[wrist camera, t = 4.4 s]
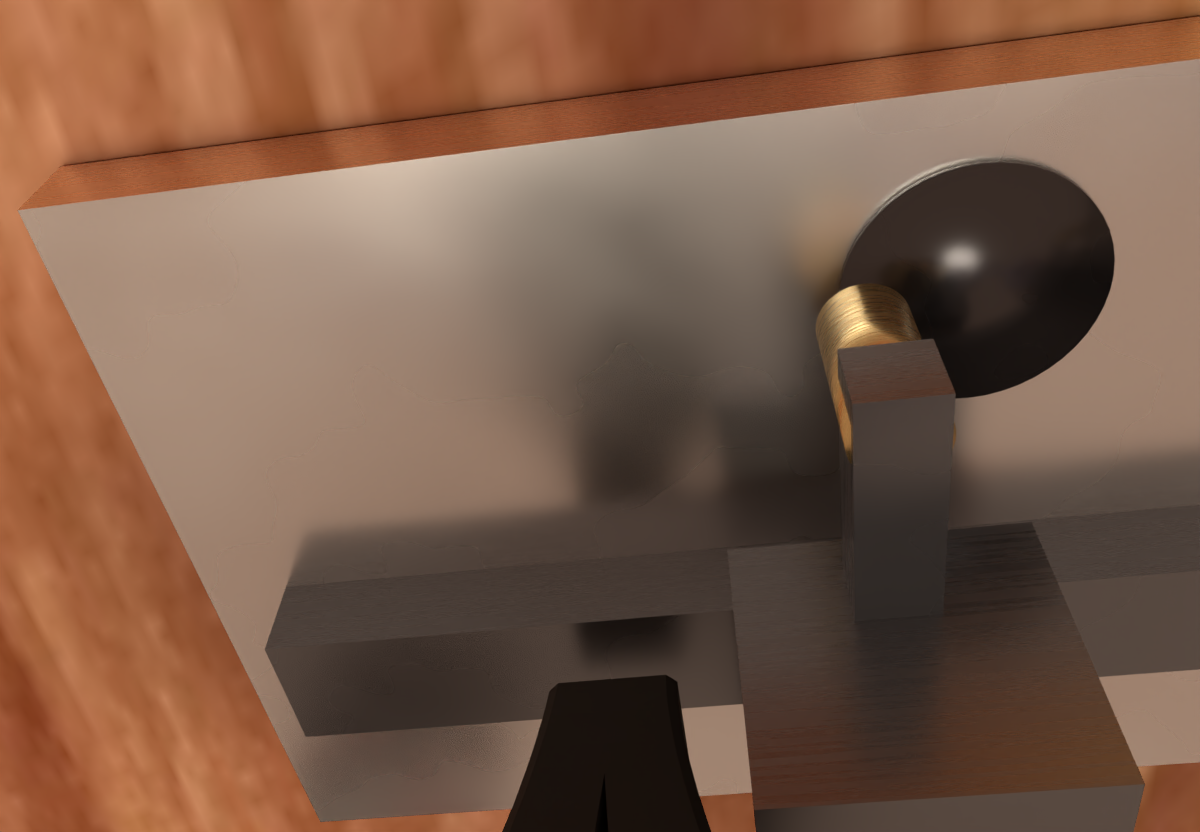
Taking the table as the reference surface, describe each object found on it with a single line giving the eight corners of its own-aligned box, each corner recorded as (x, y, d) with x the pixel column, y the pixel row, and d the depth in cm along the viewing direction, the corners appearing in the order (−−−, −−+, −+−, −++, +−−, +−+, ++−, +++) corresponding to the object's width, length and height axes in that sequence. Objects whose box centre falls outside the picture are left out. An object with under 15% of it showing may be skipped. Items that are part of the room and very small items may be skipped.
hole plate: (2286, -127, 9) (2457, -99, 9) (1743, 662, 15) (1810, 727, 14) (60, 167, 11) (13, 215, 11) (334, 764, 17) (318, 827, 16)
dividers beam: (2163, 102, 10) (2676, 275, 7) (1795, 621, 13) (2050, 848, 11) (174, 330, 11) (54, 529, 9) (349, 731, 15) (296, 946, 13)
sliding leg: (1029, 260, 10) (1201, 549, 7) (985, 715, 14) (1085, 1029, 11) (701, 297, 10) (732, 588, 7) (745, 732, 14) (777, 1042, 11)
